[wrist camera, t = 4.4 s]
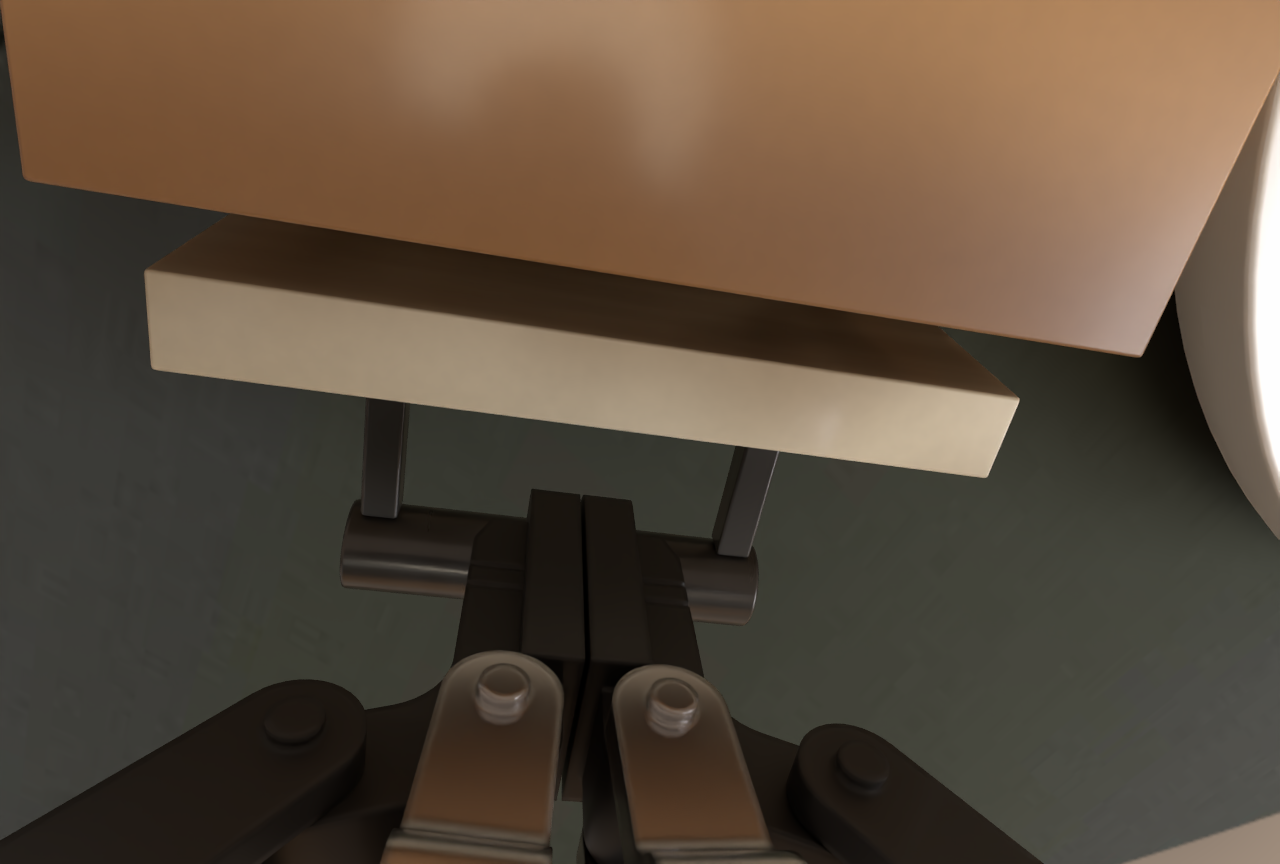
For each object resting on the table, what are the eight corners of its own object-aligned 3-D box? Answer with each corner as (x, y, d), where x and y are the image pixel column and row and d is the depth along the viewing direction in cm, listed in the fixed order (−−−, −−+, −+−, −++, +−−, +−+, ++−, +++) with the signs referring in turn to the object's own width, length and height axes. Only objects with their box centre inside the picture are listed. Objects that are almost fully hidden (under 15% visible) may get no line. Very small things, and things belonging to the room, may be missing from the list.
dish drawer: (768, 491, 20) (874, 747, 13) (317, 436, 19) (173, 695, 12) (1059, -499, 13) (1656, -1090, 6) (341, -738, 11) (-27, -1952, 4)
